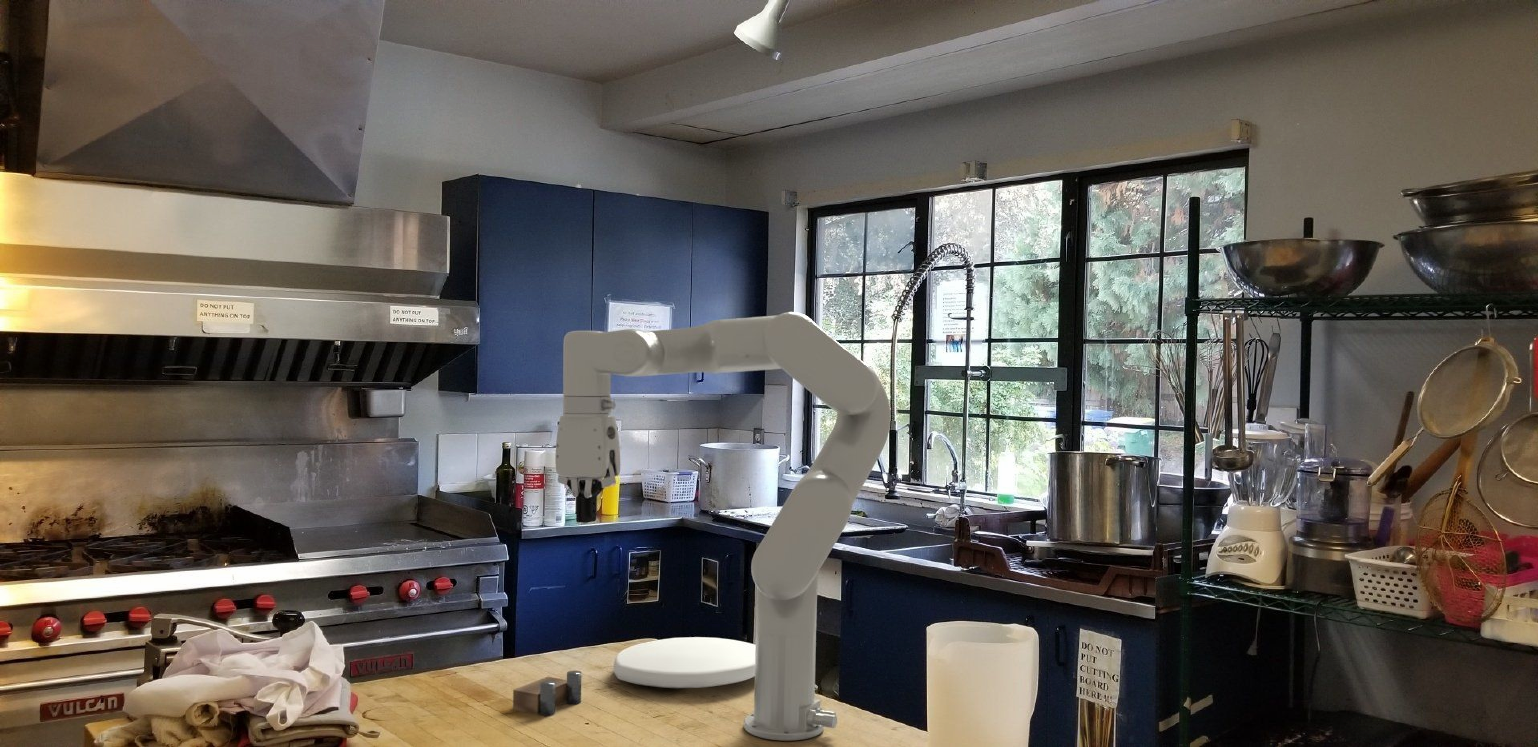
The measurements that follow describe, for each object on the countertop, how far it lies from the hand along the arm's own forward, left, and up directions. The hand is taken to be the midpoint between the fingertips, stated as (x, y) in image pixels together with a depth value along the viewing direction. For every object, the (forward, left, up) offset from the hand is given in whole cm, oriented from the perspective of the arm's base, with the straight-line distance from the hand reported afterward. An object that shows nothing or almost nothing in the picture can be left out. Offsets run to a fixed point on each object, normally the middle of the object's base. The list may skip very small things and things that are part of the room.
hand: (586, 521), depth 176 cm
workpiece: (+10, -2, -32) cm, 34 cm away
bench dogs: (+6, -2, -32) cm, 32 cm away
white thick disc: (-3, -29, -32) cm, 44 cm away
